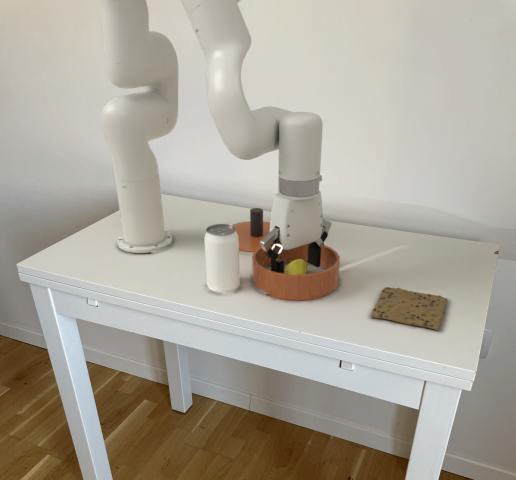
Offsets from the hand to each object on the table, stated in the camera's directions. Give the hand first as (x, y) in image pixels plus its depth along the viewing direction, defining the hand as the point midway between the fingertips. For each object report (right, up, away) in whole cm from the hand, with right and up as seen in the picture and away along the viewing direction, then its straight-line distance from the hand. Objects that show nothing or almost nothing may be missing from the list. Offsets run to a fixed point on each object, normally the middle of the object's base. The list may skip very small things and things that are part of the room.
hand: (295, 271), depth 108 cm
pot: (0, -2, +1) cm, 2 cm away
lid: (-8, +11, +19) cm, 23 cm away
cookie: (+20, -8, -9) cm, 24 cm away
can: (-15, -3, -1) cm, 15 cm away
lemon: (0, -2, +1) cm, 2 cm away
